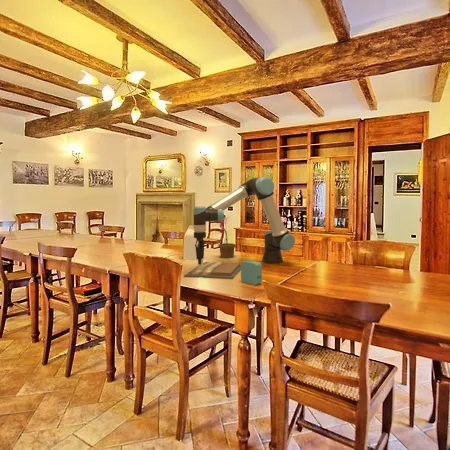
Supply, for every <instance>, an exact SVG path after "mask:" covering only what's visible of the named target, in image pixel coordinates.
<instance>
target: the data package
mask: <svg viewBox="0 0 450 450" xmlns="http://www.w3.org/2000/svg"><path fill="white" fill-rule="evenodd" d="M240 265H241V270H240V281H241V282H242V283H245V284H249V285H253V286H257V285H260V284H262V281H263V278H262V276H263V273H262V272H263V267H262V266H263V265H262V263H261V262H259V261H255V260H250V259H249V260H242V261H241V263H240Z"/></svg>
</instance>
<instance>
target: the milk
mask: <svg viewBox="0 0 450 450" xmlns="http://www.w3.org/2000/svg"><path fill="white" fill-rule="evenodd" d="M193 226H194V225H188V228H187V230H186V231H185V233H184V236H183V260H184V261H198V259H196V258H197V257H196V247H195V244H196V241H197V239H196V238H194V232H195V231H194V228H193Z"/></svg>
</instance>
